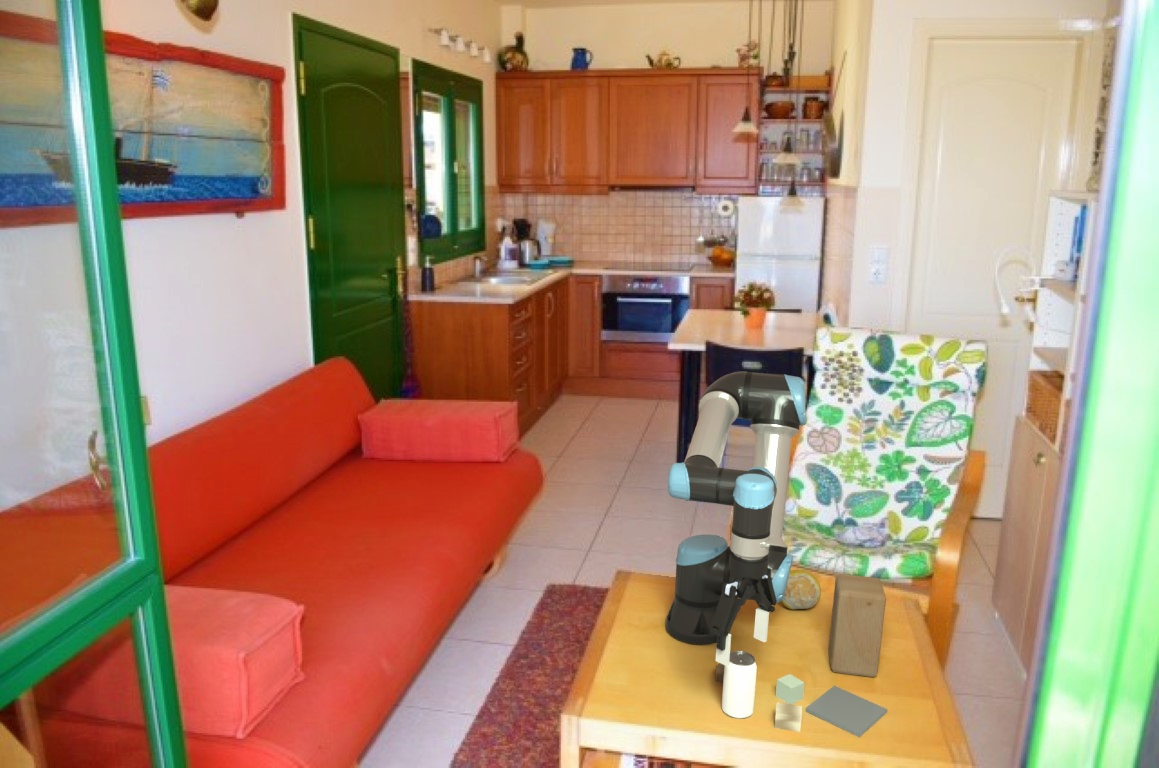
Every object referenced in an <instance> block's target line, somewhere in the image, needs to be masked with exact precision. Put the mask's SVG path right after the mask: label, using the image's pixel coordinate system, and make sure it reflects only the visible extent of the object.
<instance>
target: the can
mask: <svg viewBox="0 0 1159 768" xmlns="http://www.w3.org/2000/svg"><path fill="white" fill-rule="evenodd" d="M757 668H758V666H757V663H756V658H755V656H754V655H753V654H752V653H749V652H747V651H744V650H733V651H730V658H729V665H728V666H725V667H724V680H723V684H722V697H721V709H722V711H723V712H724V714H726V716H728V717H731V718H734V719H739V720H740V719H741V720H745V719H747V718H749V717H751V716H752V715H753V713H754V708H755V707H754V706H755V697H756V696H755V694H756V683H757V672H758V671H757V670H758V669H757Z"/></svg>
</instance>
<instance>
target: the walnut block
mask: <svg viewBox="0 0 1159 768" xmlns="http://www.w3.org/2000/svg"><path fill="white" fill-rule="evenodd" d="M724 667H725V665H723V664H721V663H719V662H717V664H716V670H715V671H716V672H715V682H716V683H718V684H722V685H723V680H724Z"/></svg>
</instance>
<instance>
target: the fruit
mask: <svg viewBox="0 0 1159 768" xmlns="http://www.w3.org/2000/svg"><path fill="white" fill-rule="evenodd" d="M821 595H822V589H821V584H820V582H819V580H818V579H817V577H816V576H815V575H814V574H813V573H812V572H810V571H807V570H804V569H790V574H789V578H788V582H787V586H786V590H785V594H784V597H783V600H782V601H781V602H780V603H781V604H782V605H783V606H784V607H785V608H787V609H790V610H799V609H800V610H803V609H812V608H813V607H814V606H816V605H817V604H818V602H819V601H820V599H821Z"/></svg>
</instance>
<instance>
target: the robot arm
mask: <svg viewBox="0 0 1159 768" xmlns="http://www.w3.org/2000/svg"><path fill="white" fill-rule="evenodd" d="M805 387H806V385H805V381H804V380H803V378H801V377H799V376H794V375H789V374H777V373H763V372H753V371H750V372H749V371H734V372H731V373H728V374H725V375H723V376H721V377H720V378H718V379H717V380H715V381H713V383H712V384H710V385H709V386H708V387H707V388H706V390H704V392H703V394H702V395H701V397H700V400H699V403H698V413H699V417H698V420H697V422H696V426H695V429H694V432H693V434H692V437H691V441H690V445H689V447H688V450H687V453H686V456H685V459H684V462H674V463H673V464H672V465H671V466H670V468H669V473H668V478H667V492H668V494H669V496H670V497H671V498H673V499H679V500H685V501H687V502H688V501H689V502H690V501H691V502H699V503H708V504H715V505H716V504H717V505H718V504H719V505H723V506H731V507H733V509H732V525H731V533H730V541H729V542H730V544H729V543H728V541H727V539H726V538H724V537H723V536H720V535H717V534H707V533H706V534H697V535H693V536H689V537H686V538H685V539H683V540H682V541H680V543H679V544H678V547H677V553H676V558H675V563H676V564H675V565H676V567H675V582H674V583H675V587H674V598H673V601H672V603H671V605H670V607H669V609H668V612H667V615H666V619H665V629H666V630H665V631H666V632H667V633H668V634H669V635H670V636H671V637H672V638H674V639H675V640H677V641H680V642H683V643H686V644H689V645H697V646H709V645H714V644H715V648H716V649H715V662H717V663H721V664H723V665H725V666H728V665H729V658H730V652H731V643H732V642H731V641H732V634H731V633H730V632H731V629H732V627H733V625H734V622H735V621H736V618H737V616H738V614H739V612H740V610H741V608H742V607H743V606H745V605H746V602H747V600H748V601H754V602H756V605H757V606H758V607H757V608H755V616H754V628H753V629H754V631H753V639H756V640H758V641H760V642H763V643H767V641H768V633H769V632H768V631H769V618H770V613H774V612H775V611H776V607H775V606H776V605H777V604H778V603H782V602H781V601H782V600H783V597H784V594H785V590H786V586H787V582H788V578H789V574H790V571H791V570H792V565H793V560H794V556H793V555H792V554H790V553H788V548H789V547H788V544H786V542H785V541H784V539H783V531H784V520H785V510H786V501H787V500H786V499H787V492H788V491H787V490H788V482H789V481H788V479H789V470H790V469H789V468H790V458H791V450H792V449H791V448H792V440H793V438H794V437H795V436H797V434H799V432H800V426H801V427H803V426H805V425H806V424H807V419H806V418H807V416H806V414H807V413H806V412H807V410H806V391H805V390H806V389H805ZM736 419H741V420H748V421H750V425H749V428H750V429H751V430H752V431H753V432H754V435H755V437H754V446H753V448H754V449H753V453H752V454H753V457H752V465H751V467H750V468H749V469H747V470H745V469H744V470H742V469H732V468H724V467H721V463H722V459H723V455H724V451H725V448H726V445H727V441H728V437H729V435H730V434H729V433H730V430H731V427H732V424H733V423H734V422H735V421H736Z"/></svg>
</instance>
